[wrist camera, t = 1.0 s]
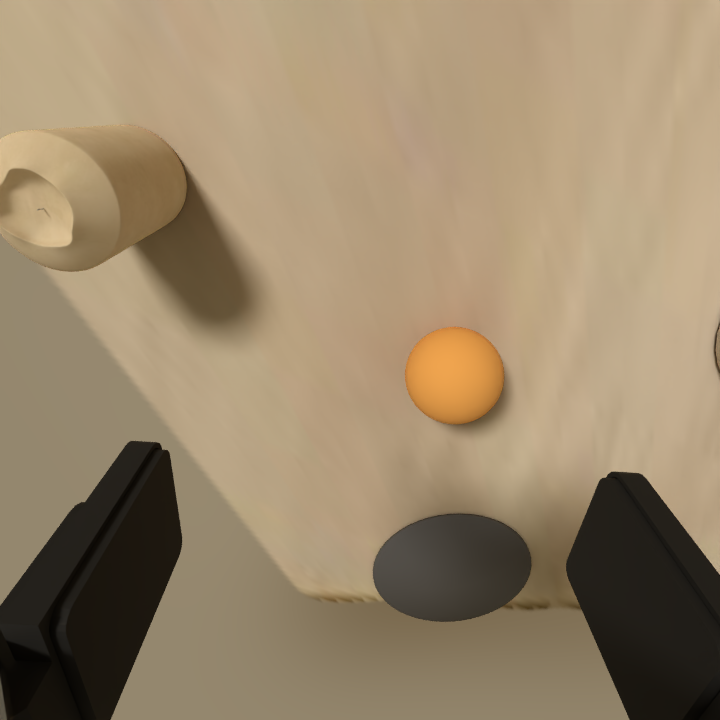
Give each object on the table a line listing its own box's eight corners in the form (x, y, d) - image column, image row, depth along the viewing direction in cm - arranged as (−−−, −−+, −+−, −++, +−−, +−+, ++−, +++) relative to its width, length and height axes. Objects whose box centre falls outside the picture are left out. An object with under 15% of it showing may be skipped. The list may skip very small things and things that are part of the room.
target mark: (535, 507, 38) (536, 509, 38) (525, 614, 45) (526, 616, 45) (365, 520, 39) (365, 522, 39) (380, 624, 46) (380, 626, 45)
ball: (491, 307, 30) (519, 349, 25) (489, 387, 33) (514, 439, 28) (398, 316, 31) (406, 360, 25) (404, 394, 33) (412, 448, 28)
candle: (101, 226, 28) (-19, 281, 19) (77, 122, 25) (-74, 129, 16) (194, 229, 28) (118, 284, 19) (180, 126, 25) (85, 134, 16)
